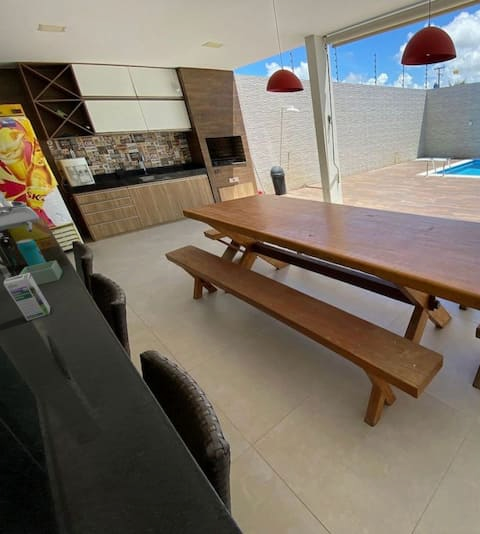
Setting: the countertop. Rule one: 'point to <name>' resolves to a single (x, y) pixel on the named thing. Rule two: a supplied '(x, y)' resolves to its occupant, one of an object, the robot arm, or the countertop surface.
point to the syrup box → (27, 296)
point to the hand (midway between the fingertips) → (16, 234)
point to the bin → (44, 272)
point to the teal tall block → (30, 252)
